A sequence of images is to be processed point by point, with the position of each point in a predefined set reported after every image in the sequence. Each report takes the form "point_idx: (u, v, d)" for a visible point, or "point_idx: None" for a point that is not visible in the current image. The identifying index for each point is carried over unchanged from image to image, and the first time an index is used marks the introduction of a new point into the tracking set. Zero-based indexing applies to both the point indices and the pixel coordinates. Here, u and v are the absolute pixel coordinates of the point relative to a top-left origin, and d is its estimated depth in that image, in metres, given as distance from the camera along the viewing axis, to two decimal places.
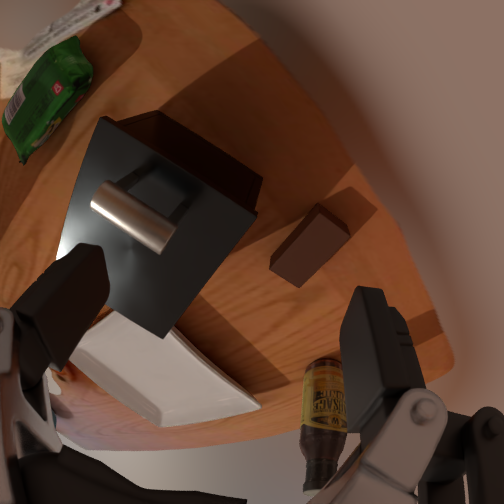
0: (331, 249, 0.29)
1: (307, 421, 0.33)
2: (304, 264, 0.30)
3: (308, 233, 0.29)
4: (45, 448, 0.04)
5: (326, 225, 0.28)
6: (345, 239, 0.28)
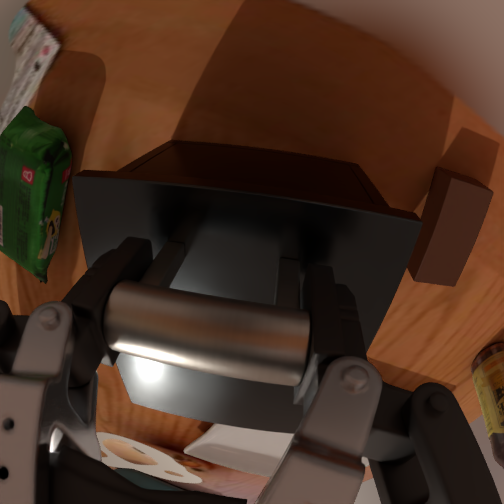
0: (478, 219, 0.16)
1: (496, 428, 0.18)
2: (453, 253, 0.18)
3: (447, 212, 0.17)
4: (80, 452, 0.05)
5: (464, 190, 0.16)
6: (489, 198, 0.16)
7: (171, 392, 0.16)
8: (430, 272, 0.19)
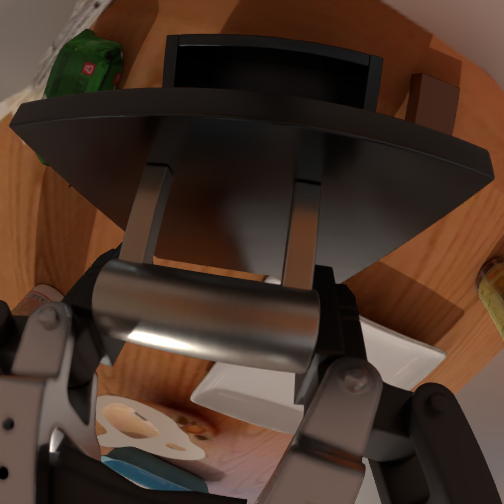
0: (451, 109, 0.20)
1: None
2: None
3: (424, 99, 0.20)
4: (80, 452, 0.05)
5: (434, 84, 0.19)
6: (457, 93, 0.19)
7: (193, 254, 0.18)
8: None
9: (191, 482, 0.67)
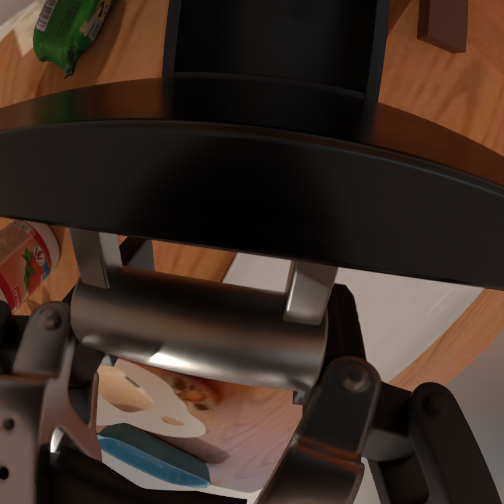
0: None
1: None
2: (453, 19, 0.15)
3: None
4: (81, 452, 0.05)
5: None
6: None
7: None
8: (439, 30, 0.16)
9: (190, 464, 0.63)
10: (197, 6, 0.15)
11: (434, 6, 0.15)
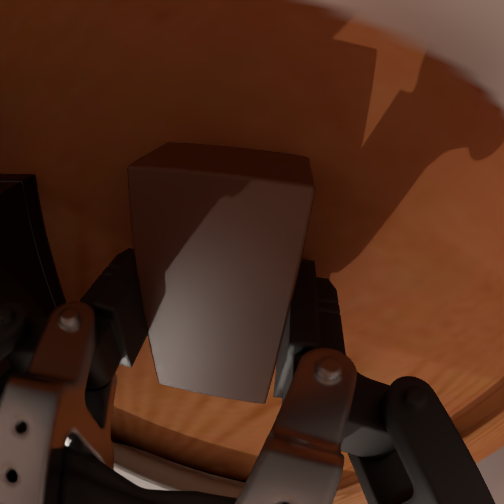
0: (272, 276, 0.07)
1: None
2: (223, 351, 0.09)
3: (153, 259, 0.07)
4: (93, 456, 0.05)
5: (183, 197, 0.06)
6: (300, 211, 0.06)
7: None
8: (184, 376, 0.10)
9: None
10: None
11: (159, 327, 0.08)
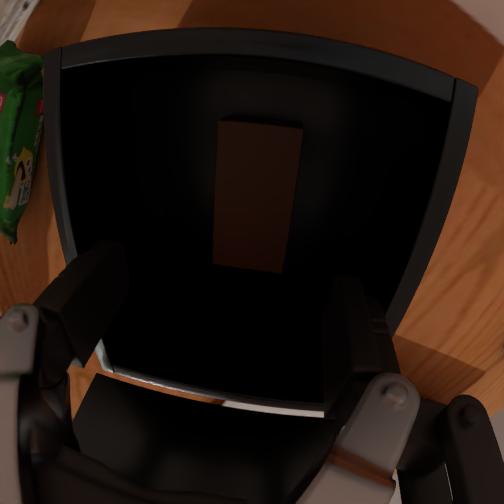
0: (286, 173, 0.14)
1: None
2: (259, 226, 0.16)
3: (225, 167, 0.14)
4: (60, 449, 0.05)
5: (245, 134, 0.13)
6: (298, 140, 0.13)
7: None
8: (231, 252, 0.17)
9: None
10: None
11: (222, 212, 0.15)
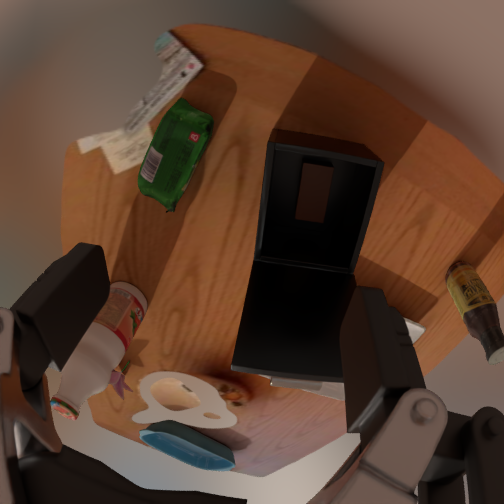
0: (327, 183, 0.38)
1: (465, 309, 0.37)
2: (315, 202, 0.40)
3: (305, 180, 0.38)
4: (45, 448, 0.04)
5: (313, 168, 0.37)
6: (331, 171, 0.37)
7: None
8: (303, 213, 0.41)
9: (220, 450, 0.85)
10: (267, 207, 0.37)
11: (301, 197, 0.39)
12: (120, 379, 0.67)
